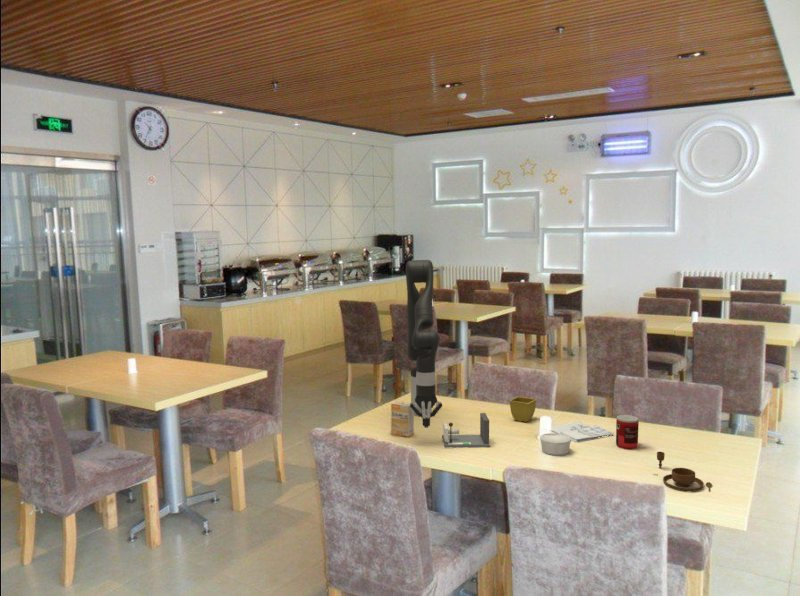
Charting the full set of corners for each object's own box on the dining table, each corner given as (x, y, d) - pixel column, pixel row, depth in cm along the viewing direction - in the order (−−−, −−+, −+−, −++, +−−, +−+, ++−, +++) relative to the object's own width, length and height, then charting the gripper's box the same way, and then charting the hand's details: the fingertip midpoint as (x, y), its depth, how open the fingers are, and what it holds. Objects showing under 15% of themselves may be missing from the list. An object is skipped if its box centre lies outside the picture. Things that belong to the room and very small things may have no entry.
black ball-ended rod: (448, 441, 245) (448, 421, 245) (452, 441, 245) (452, 421, 245) (448, 443, 244) (448, 423, 243) (453, 443, 244) (453, 423, 243)
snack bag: (575, 444, 248) (576, 438, 248) (543, 429, 266) (543, 424, 266) (614, 437, 256) (614, 431, 255) (580, 423, 274) (580, 418, 274)
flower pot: (518, 416, 284) (518, 396, 283) (536, 419, 278) (536, 398, 278) (508, 421, 276) (509, 400, 276) (527, 424, 271) (528, 403, 270)
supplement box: (390, 435, 260) (390, 403, 258) (396, 431, 264) (395, 400, 262) (408, 437, 256) (408, 405, 254) (414, 434, 260) (414, 402, 259)
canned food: (621, 441, 249) (622, 413, 248) (641, 446, 243) (642, 417, 242) (611, 446, 243) (612, 417, 242) (632, 451, 238) (633, 422, 237)
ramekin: (563, 445, 245) (563, 431, 245) (576, 455, 234) (576, 441, 234) (535, 447, 243) (535, 433, 243) (546, 457, 232) (547, 443, 232)
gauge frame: (442, 437, 256) (441, 412, 254) (484, 436, 256) (484, 412, 255) (444, 447, 244) (444, 422, 243) (489, 447, 244) (489, 421, 243)
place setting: (652, 489, 205) (652, 471, 204) (654, 467, 223) (654, 450, 222) (713, 497, 198) (714, 478, 197) (710, 474, 216) (711, 457, 216)
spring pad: (443, 434, 254) (443, 422, 253) (457, 434, 254) (457, 422, 253) (445, 443, 244) (445, 430, 244) (460, 442, 244) (460, 429, 244)
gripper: (442, 380, 251) (442, 424, 252) (408, 380, 251) (408, 424, 252) (444, 384, 243) (444, 429, 245) (408, 385, 243) (409, 430, 245)
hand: (426, 427), depth 249 cm, fingers closed
